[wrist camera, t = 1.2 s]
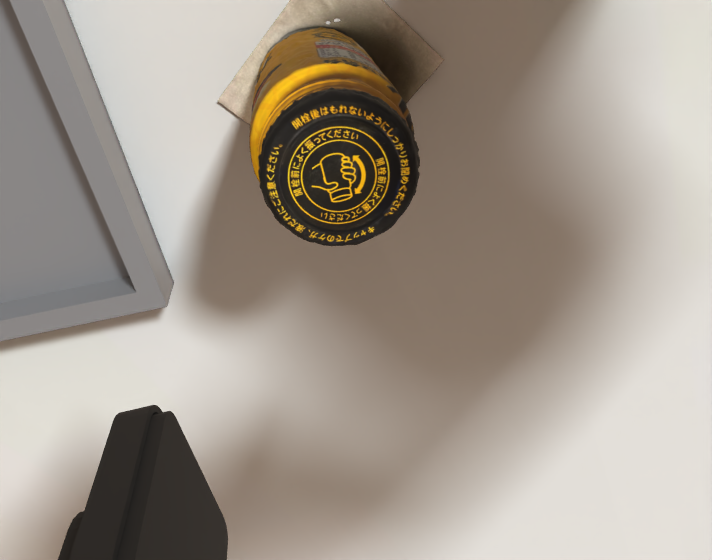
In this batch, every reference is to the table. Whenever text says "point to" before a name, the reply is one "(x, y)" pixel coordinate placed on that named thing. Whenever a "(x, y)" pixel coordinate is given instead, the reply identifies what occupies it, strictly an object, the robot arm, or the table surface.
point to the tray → (65, 187)
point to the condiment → (334, 117)
